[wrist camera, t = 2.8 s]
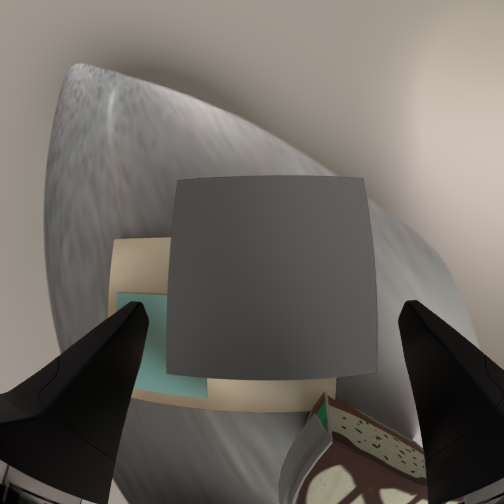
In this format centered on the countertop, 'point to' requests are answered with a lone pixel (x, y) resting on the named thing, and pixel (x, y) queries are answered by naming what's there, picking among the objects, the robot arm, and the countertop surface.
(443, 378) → the robot arm
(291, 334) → the tall gray pillar
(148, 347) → the stand board
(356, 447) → the food container
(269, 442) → the countertop surface
